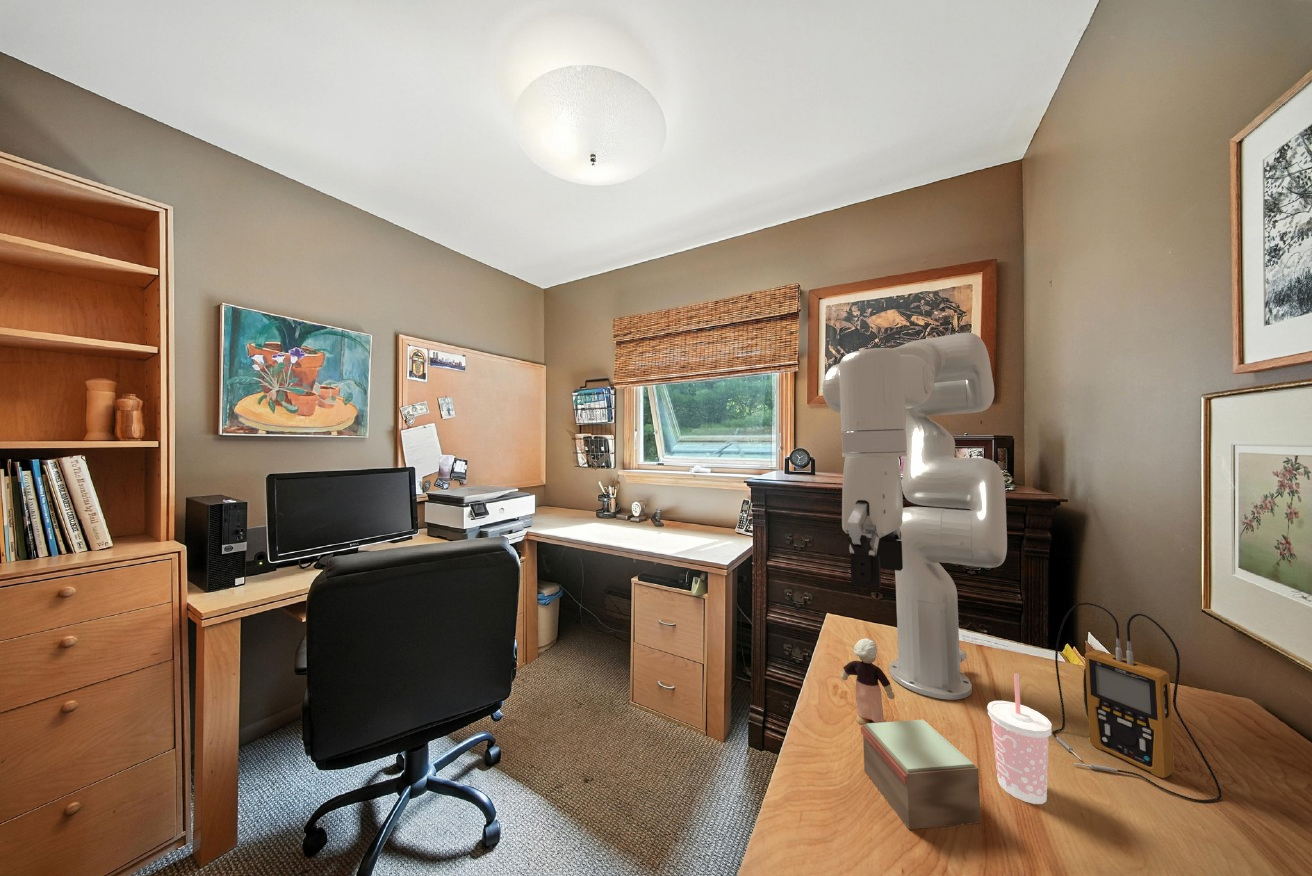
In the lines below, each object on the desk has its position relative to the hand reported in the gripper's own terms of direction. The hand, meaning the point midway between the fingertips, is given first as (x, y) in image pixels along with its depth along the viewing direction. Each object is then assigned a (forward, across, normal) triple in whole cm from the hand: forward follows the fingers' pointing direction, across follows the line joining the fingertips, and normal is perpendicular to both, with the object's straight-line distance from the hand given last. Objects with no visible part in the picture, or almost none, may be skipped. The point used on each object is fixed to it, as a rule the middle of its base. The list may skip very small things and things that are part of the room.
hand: (878, 577), depth 54 cm
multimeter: (+27, -23, +22) cm, 41 cm away
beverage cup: (+26, -10, +13) cm, 31 cm away
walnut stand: (+26, 0, +3) cm, 26 cm away
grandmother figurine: (+26, -11, -6) cm, 29 cm away
